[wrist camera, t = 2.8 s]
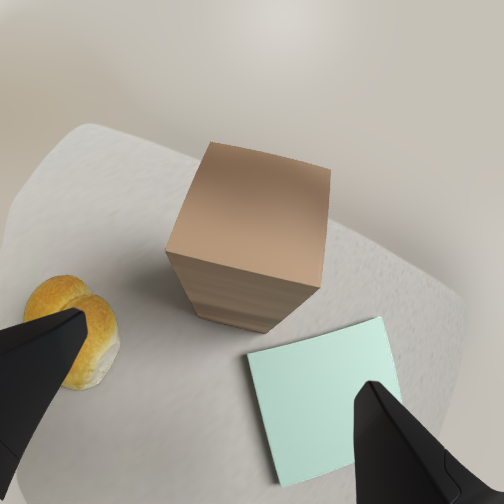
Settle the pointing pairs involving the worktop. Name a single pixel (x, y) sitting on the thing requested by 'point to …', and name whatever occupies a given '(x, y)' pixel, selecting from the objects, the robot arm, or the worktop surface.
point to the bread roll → (98, 322)
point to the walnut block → (251, 236)
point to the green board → (318, 396)
